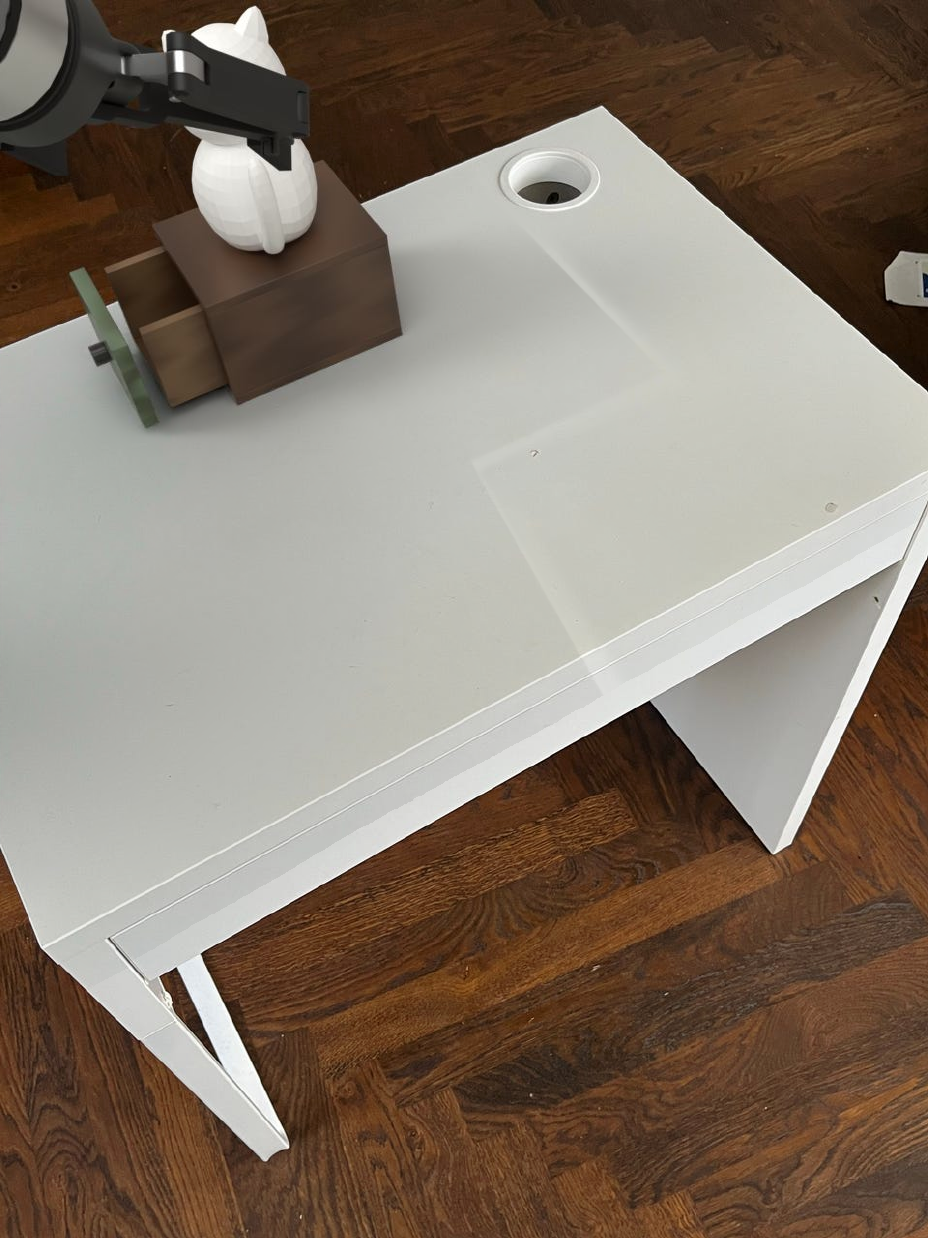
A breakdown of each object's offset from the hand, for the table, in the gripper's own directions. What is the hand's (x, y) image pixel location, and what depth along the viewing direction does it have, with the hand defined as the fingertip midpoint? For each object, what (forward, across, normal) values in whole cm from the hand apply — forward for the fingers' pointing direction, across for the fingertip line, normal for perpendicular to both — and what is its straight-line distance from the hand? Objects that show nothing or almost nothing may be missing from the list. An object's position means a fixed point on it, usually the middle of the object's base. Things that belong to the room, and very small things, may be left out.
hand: (171, 149), depth 67 cm
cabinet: (+26, 0, -8) cm, 28 cm away
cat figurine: (+20, 0, -2) cm, 20 cm away
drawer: (+22, -7, -11) cm, 26 cm away
